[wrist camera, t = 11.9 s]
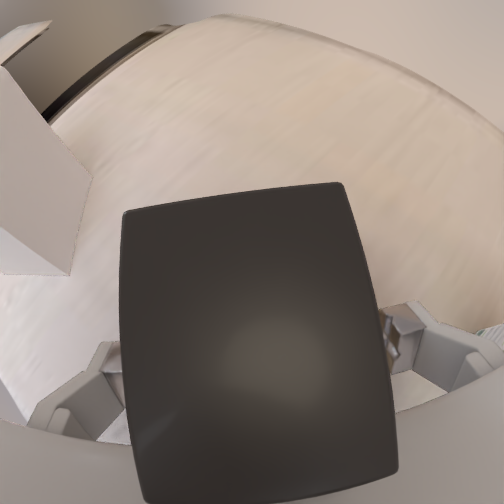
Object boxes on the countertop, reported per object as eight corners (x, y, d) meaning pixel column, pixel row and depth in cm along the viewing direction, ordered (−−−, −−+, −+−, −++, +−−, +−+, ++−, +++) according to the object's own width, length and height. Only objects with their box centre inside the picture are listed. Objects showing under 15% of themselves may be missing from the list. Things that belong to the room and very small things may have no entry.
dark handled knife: (284, 395, 15) (401, 523, 1) (245, 400, 15) (156, 552, 1) (274, 327, 17) (328, 134, 3) (236, 332, 17) (125, 161, 3)
